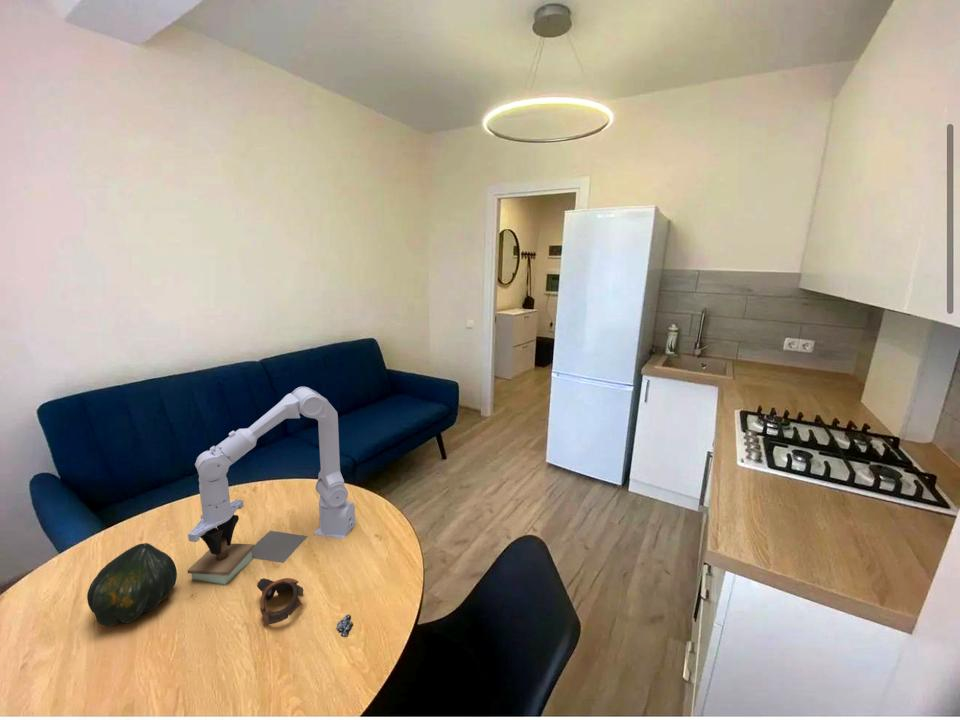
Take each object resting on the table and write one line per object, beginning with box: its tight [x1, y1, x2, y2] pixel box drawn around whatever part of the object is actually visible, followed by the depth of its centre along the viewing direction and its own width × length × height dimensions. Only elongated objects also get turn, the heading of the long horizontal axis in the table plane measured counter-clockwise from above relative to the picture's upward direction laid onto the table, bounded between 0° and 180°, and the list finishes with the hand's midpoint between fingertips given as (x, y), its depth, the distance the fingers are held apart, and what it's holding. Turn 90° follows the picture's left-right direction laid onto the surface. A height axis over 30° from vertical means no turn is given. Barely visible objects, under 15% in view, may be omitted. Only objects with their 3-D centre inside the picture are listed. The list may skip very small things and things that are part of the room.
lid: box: [186, 538, 255, 575], centre depth 97 cm, size 10×10×5 cm
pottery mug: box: [256, 577, 304, 626], centre depth 87 cm, size 12×10×8 cm
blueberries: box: [336, 614, 362, 638], centre depth 84 cm, size 7×8×2 cm
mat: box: [251, 530, 309, 564], centre depth 108 cm, size 12×11×1 cm
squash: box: [86, 542, 178, 627], centre depth 86 cm, size 14×15×15 cm
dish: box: [190, 551, 253, 586], centre depth 98 cm, size 9×9×3 cm
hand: (221, 548), depth 97 cm, fingers closed on lid, 3 cm apart
